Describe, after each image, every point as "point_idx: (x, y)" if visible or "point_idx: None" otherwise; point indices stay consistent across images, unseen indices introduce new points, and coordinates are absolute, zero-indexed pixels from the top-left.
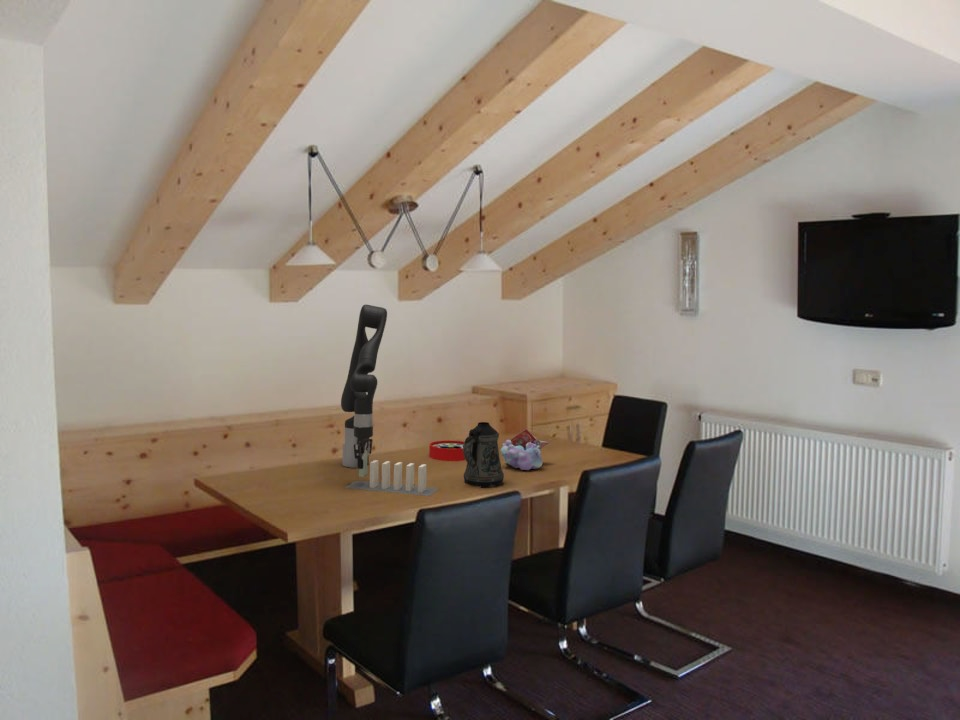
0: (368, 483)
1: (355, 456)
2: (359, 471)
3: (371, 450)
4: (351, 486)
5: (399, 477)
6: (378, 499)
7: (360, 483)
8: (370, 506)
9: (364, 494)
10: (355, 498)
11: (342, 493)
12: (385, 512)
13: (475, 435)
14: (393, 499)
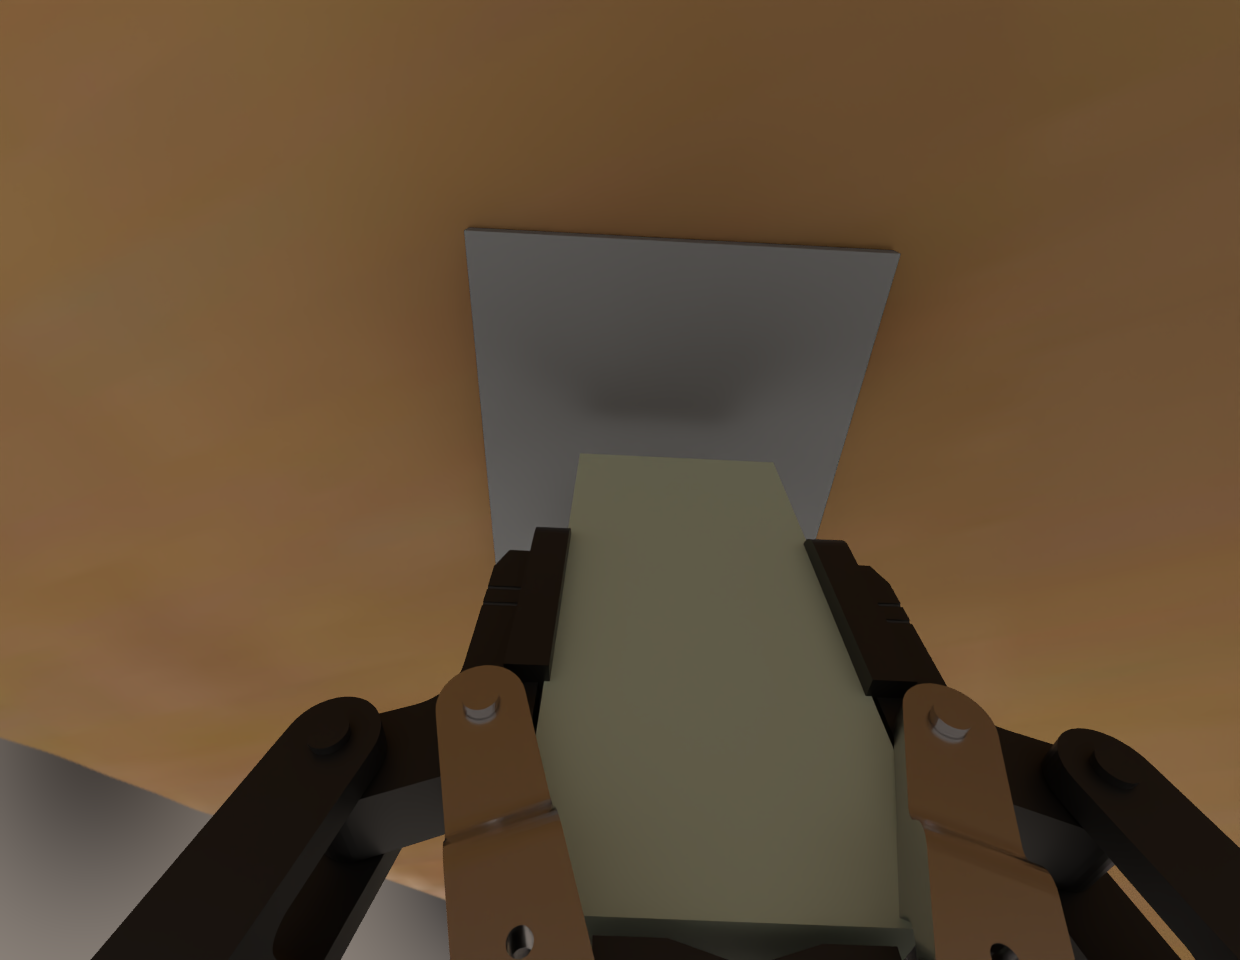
0: (764, 446)
1: (271, 777)
2: (572, 508)
3: (1104, 912)
4: (561, 303)
5: None
6: (299, 647)
7: (744, 361)
8: (92, 649)
9: (372, 517)
10: (194, 488)
11: (267, 289)
12: (60, 744)
13: None
14: None
